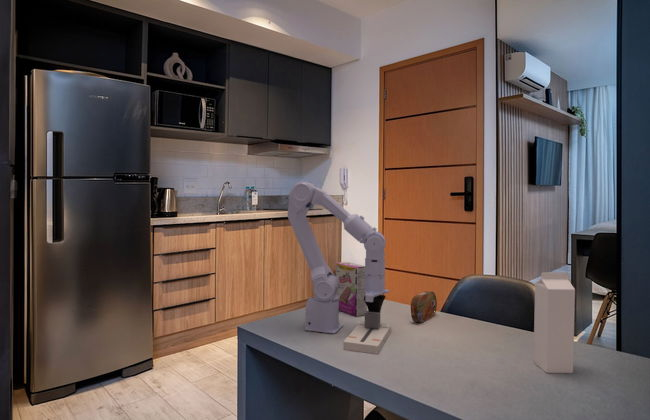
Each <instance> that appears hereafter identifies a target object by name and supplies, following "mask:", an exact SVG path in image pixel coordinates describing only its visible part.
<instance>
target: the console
mask: <svg viewBox="0 0 650 420" xmlns="http://www.w3.org/2000/svg"><path fill="white" fill-rule="evenodd" d="M391 332H392V324H388V323H380V327H379V329H375V328H366V327H365V321H360V322H359V323H358V325H356V327H355V328H354V329H353V330H352V332H350V334H349V335H347V337H346V338H345V339H344V340H343V341H342V342H343V343H342V345H343V346H342V348H343V350H345V351H351V352H352V351H353V352H360V353H367V354H375V355H378V354H379V353H380V352H381V350H382V348H383V346H384V345H385V343H386V342H387V340H388V338H389V336H390V334H391Z"/></svg>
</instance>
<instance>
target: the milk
mask: <svg viewBox="0 0 650 420" xmlns="http://www.w3.org/2000/svg"><path fill="white" fill-rule="evenodd" d="M540 277H541V279H539V280H537V282H535V283H534V317H533V318H534V322H533V323H534V325H533V327H534V328H533V363H534V364H535V365H536V366H538V367H539V368H540V369H541V370H542V371H544V373H546V374H547V373H548V374H573V373H574V349H575V345H574V343H575V342H574V340H575V310H576V307H575V305H576V301H575V300H576V288H575V287H574V286H573V285H572V283H571V282H570V280H569V274H568V273H567V272H559V271H558V272H552V271H551V272H550V271H549V272H545V271H544V272H541V276H540Z"/></svg>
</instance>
